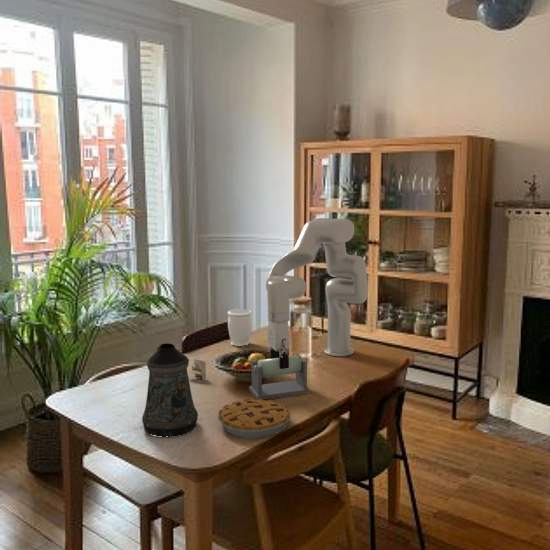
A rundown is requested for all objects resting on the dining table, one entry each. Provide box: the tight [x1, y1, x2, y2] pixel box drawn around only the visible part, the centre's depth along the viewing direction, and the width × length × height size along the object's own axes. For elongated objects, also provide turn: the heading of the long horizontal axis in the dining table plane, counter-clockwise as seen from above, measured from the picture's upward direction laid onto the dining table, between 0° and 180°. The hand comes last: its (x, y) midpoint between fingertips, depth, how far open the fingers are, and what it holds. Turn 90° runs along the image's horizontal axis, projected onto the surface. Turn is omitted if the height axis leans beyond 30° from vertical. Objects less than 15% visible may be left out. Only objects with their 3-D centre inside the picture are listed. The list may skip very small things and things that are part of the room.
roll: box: [254, 355, 303, 378], centre depth 202 cm, size 6×18×6 cm, turn 109°
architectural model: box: [187, 358, 207, 381], centre depth 216 cm, size 3×7×7 cm, turn 53°
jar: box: [227, 308, 253, 347], centre depth 258 cm, size 11×10×15 cm
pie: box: [217, 398, 291, 439], centre depth 176 cm, size 22×22×5 cm
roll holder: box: [248, 354, 311, 400], centre depth 202 cm, size 10×19×11 cm, turn 109°
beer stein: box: [141, 342, 199, 438], centre depth 175 cm, size 16×19×25 cm
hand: (279, 363), depth 202 cm, fingers open, 9 cm apart
